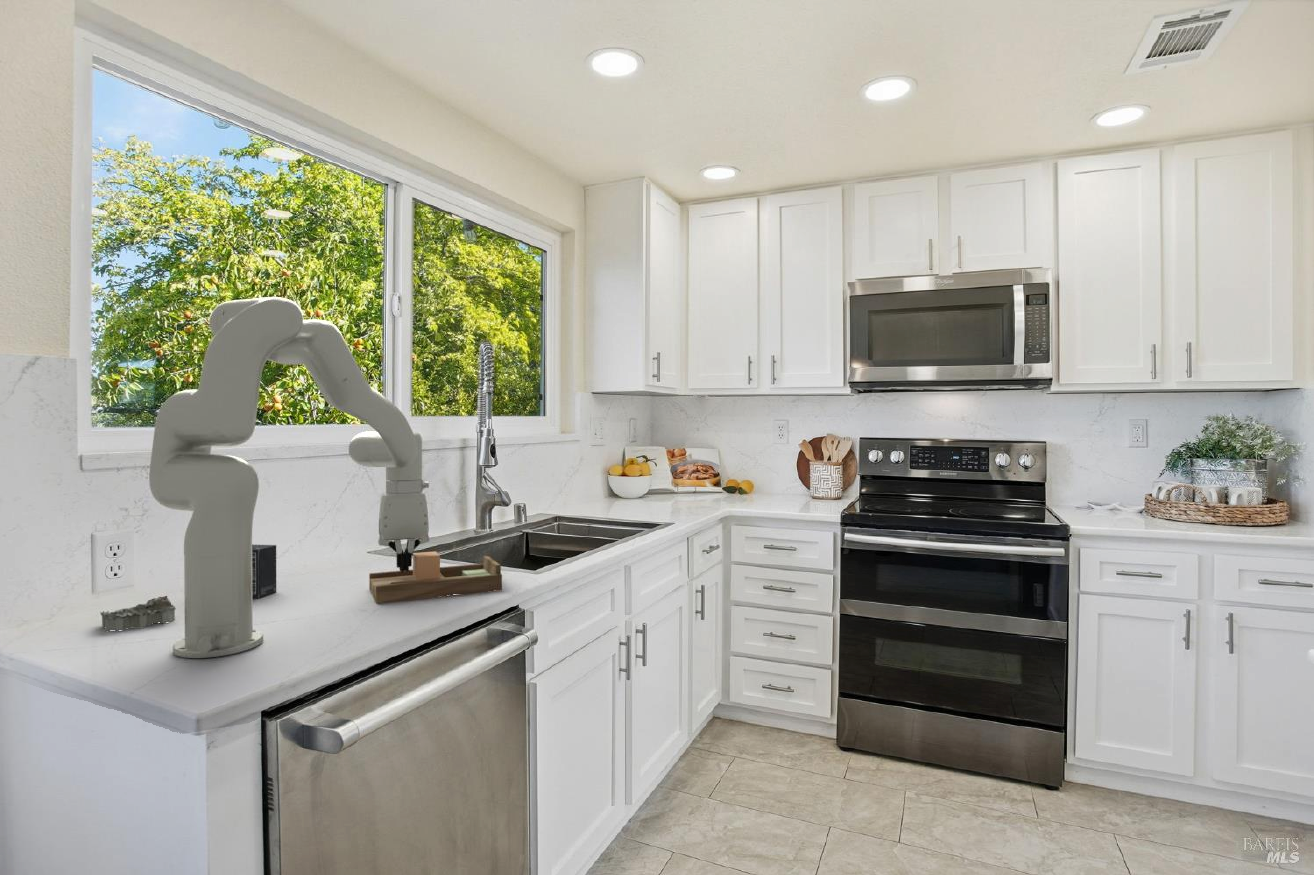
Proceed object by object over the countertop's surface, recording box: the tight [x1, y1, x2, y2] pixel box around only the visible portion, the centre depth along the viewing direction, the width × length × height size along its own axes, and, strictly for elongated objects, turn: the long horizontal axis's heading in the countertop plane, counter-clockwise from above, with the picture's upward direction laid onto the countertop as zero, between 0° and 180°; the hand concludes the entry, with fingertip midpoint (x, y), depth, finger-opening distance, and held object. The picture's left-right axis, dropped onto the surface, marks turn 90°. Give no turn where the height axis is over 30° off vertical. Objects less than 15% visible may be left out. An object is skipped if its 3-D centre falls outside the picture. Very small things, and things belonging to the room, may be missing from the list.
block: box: [412, 551, 441, 580], centre depth 158 cm, size 5×5×5 cm
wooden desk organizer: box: [368, 555, 503, 605], centre depth 156 cm, size 14×26×6 cm, turn 118°
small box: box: [252, 544, 277, 599], centre depth 150 cm, size 11×6×10 cm, turn 84°
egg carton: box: [100, 595, 177, 632], centre depth 128 cm, size 11×8×4 cm
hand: (404, 570), depth 156 cm, fingers closed
